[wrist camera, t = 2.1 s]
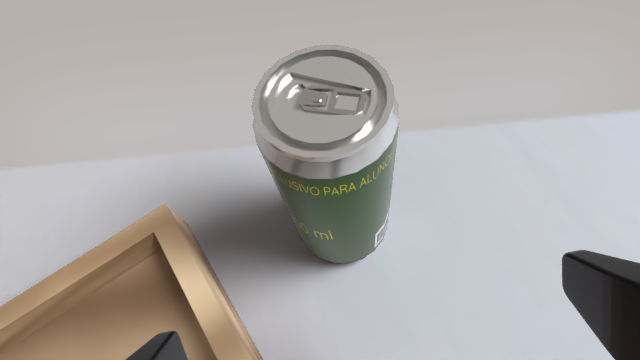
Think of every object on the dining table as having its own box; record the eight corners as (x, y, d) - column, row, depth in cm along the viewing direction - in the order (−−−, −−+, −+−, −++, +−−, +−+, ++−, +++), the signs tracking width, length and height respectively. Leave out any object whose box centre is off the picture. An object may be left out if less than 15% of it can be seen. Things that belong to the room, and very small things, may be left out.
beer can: (392, 191, 24) (410, 45, 14) (379, 274, 22) (389, 175, 12) (310, 179, 26) (269, 35, 15) (289, 257, 23) (224, 152, 13)
